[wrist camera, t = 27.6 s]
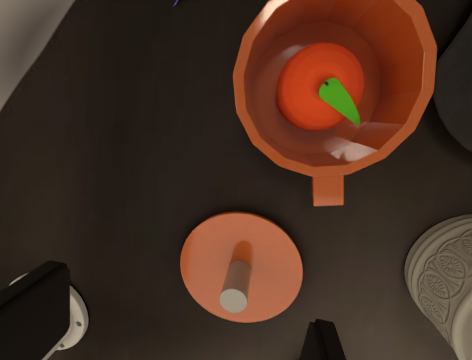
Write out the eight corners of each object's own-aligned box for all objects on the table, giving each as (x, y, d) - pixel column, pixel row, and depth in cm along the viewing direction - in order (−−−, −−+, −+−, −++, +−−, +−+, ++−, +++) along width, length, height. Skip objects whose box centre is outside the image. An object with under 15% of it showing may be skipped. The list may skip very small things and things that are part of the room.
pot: (252, 188, 28) (245, 212, 21) (235, -5, 24) (219, -57, 17) (383, 180, 26) (425, 205, 19) (391, -33, 22) (450, -107, 14)
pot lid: (192, 314, 34) (174, 356, 28) (175, 212, 30) (151, 235, 24) (304, 316, 31) (311, 363, 25) (299, 206, 28) (306, 230, 22)
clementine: (373, 98, 24) (413, 90, 17) (317, 150, 26) (333, 163, 19) (313, 37, 23) (330, 4, 16) (261, 95, 25) (257, 87, 18)
